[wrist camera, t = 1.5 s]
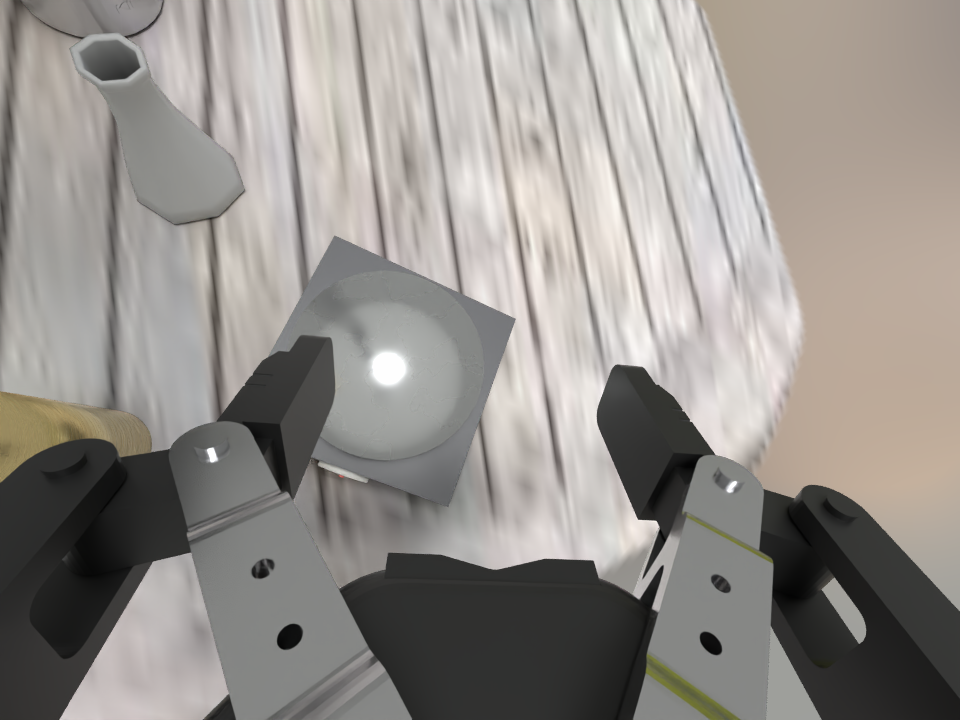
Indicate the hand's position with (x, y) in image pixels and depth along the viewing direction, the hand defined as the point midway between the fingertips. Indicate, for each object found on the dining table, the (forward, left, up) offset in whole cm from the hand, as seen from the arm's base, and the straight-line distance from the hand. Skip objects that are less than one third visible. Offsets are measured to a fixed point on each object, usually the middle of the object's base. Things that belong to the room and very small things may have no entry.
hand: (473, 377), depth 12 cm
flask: (-22, +11, -20) cm, 32 cm away
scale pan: (-3, +3, -15) cm, 16 cm away
